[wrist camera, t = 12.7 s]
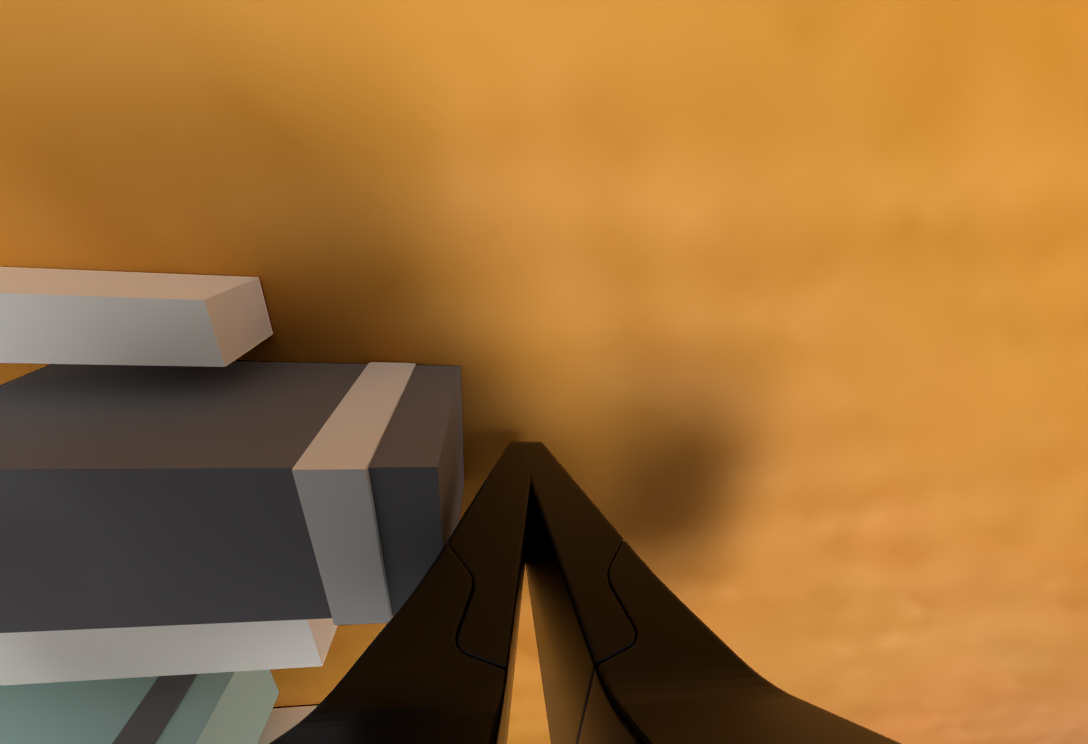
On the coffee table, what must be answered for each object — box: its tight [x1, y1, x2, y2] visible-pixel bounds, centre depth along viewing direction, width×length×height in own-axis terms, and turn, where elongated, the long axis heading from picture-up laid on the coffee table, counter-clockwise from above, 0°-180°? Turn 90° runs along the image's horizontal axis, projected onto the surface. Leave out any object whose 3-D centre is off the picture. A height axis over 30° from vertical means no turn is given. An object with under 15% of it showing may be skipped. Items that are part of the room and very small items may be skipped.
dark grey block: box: [0, 361, 464, 633], centre depth 8 cm, size 4×8×4 cm, turn 86°
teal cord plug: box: [0, 669, 279, 744], centre depth 11 cm, size 4×8×4 cm, turn 86°
